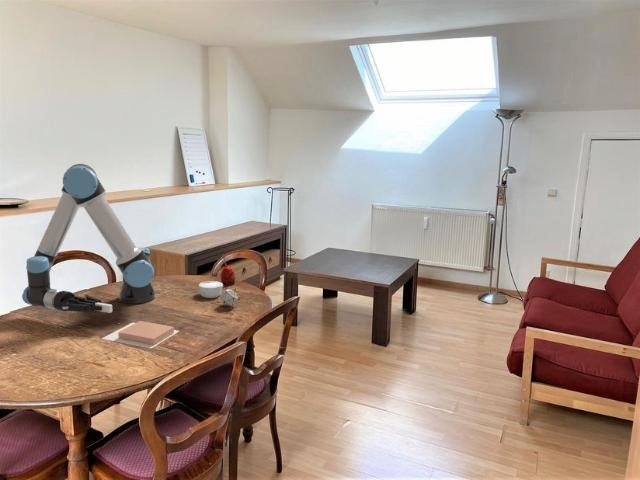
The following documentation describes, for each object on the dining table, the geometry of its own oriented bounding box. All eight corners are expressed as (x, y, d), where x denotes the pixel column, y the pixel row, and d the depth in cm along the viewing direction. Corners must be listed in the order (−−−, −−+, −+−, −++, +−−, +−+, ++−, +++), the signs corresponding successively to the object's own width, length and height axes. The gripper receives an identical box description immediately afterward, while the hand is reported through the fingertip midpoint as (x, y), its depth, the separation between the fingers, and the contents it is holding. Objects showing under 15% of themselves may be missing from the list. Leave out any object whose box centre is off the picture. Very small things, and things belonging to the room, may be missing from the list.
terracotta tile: (118, 338, 177) (154, 345, 173) (118, 332, 177) (153, 338, 172) (140, 326, 188) (174, 333, 184) (140, 320, 188) (174, 326, 183)
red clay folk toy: (230, 286, 244) (230, 257, 241) (217, 284, 246) (217, 255, 243) (237, 282, 251) (237, 253, 248) (225, 280, 253) (225, 252, 250)
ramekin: (212, 289, 238) (212, 279, 237) (228, 295, 231) (228, 284, 230) (193, 294, 230) (193, 284, 228) (208, 300, 223) (208, 289, 222)
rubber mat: (101, 340, 176) (101, 338, 176) (132, 323, 192) (132, 322, 192) (151, 350, 170) (151, 348, 170) (179, 332, 186) (179, 330, 186)
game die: (233, 313, 218) (247, 295, 218) (224, 312, 210) (238, 294, 210) (220, 300, 222) (233, 283, 221) (210, 299, 214) (224, 281, 213)
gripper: (73, 304, 197) (123, 312, 190) (47, 314, 185) (98, 324, 178) (72, 286, 196) (122, 294, 189) (45, 295, 183) (97, 304, 177)
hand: (110, 308), depth 184 cm, fingers closed
